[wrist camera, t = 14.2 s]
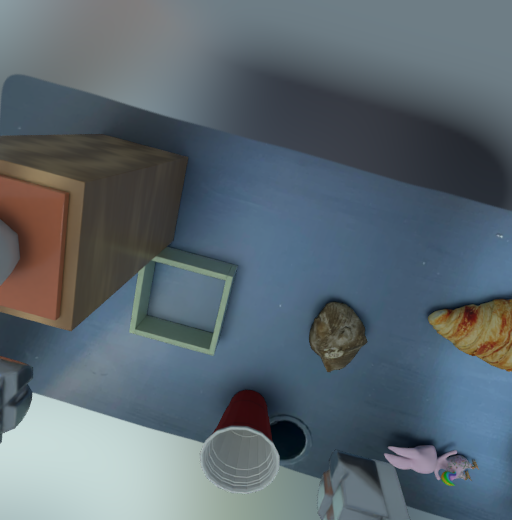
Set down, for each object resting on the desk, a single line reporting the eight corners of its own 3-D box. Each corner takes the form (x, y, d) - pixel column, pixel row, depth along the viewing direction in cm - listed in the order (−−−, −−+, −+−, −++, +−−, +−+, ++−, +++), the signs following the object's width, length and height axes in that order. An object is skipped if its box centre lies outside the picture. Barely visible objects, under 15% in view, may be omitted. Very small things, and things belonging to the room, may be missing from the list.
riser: (92, 219, 55) (-74, 291, 30) (101, 133, 51) (-83, 137, 26) (173, 241, 55) (71, 331, 30) (188, 157, 50) (85, 182, 26)
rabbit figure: (473, 444, 62) (390, 426, 59) (497, 477, 56) (406, 459, 54) (455, 471, 64) (374, 456, 61) (476, 506, 58) (388, 490, 56)
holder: (141, 318, 59) (129, 332, 55) (153, 242, 55) (141, 252, 51) (219, 339, 59) (213, 355, 55) (237, 265, 55) (232, 276, 50)
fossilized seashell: (304, 303, 53) (300, 358, 58) (332, 331, 47) (326, 389, 52) (348, 290, 56) (341, 344, 60) (380, 315, 50) (369, 371, 55)
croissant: (413, 319, 58) (419, 367, 53) (439, 277, 51) (450, 327, 45) (559, 343, 56) (581, 395, 51) (608, 303, 49) (640, 358, 44)
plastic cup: (296, 398, 61) (296, 459, 50) (259, 440, 64) (250, 506, 53) (239, 362, 60) (225, 416, 49) (204, 407, 63) (184, 468, 52)
